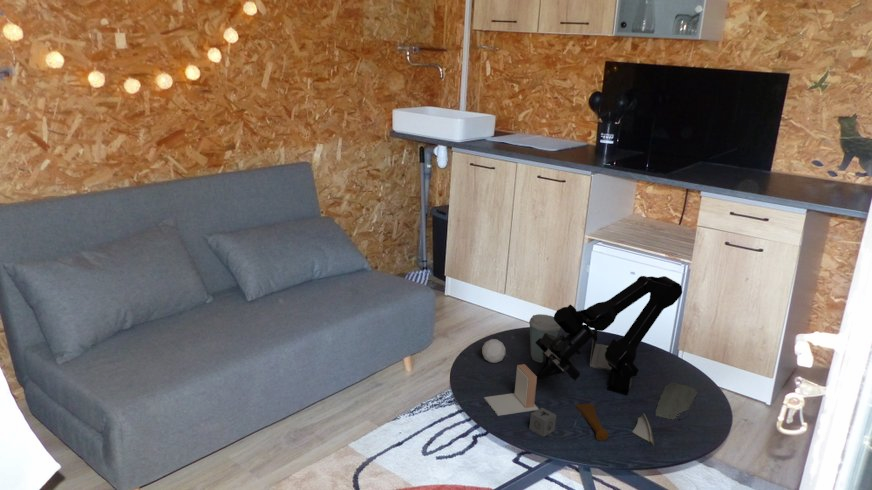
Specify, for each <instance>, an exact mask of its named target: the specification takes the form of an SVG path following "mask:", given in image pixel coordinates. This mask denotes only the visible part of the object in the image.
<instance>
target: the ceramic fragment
mask: <svg viewBox="0 0 872 490" xmlns="http://www.w3.org/2000/svg"><path fill="white" fill-rule="evenodd" d="M631 434H633V435H635V436H636V437H638V438H640V439H642V440H643V441H645V442H648V443H649V444H651V445H652V446H653V447H654V446H655V439H654V436H653V430H652V427H651V423H650V422H649V419H648V418H647V416H646V414H645V413H642V414H641V415H640V417H637V423H636V425H635V427H634V429H633V430H632V431H631Z"/></svg>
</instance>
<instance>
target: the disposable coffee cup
mask: <svg viewBox="0 0 872 490" xmlns="http://www.w3.org/2000/svg"><path fill="white" fill-rule="evenodd" d="M528 321H529V322H528V323H529V336H530V337H529V343H530V347H529V348H530V356H531V359H532V361H535V362H537V363H540V364H542V363H543V354H542V353H543V352H544V351H543V350H542V349H541V348H540V347H539V346H538V345H537V344H536V343H535V342H536V341H537V340H538V339H539V338H542V337H543V335H544V333H547V334H550V335H552V336H555V337H557V338H558V336H559V332H560V330H561V329H562V328H561V327H560V326H559V325H558V324H557V323H556V322H555V320H554V316H552V315H548V314H542V313H541V314H539V313H538V314H533V315H532V317H531V318H530V319H529V320H528ZM544 353H545V352H544Z"/></svg>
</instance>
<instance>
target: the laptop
mask: <svg viewBox="0 0 872 490" xmlns="http://www.w3.org/2000/svg"><path fill="white" fill-rule="evenodd" d="M593 329H594V328H593ZM594 330H595V331H596V332H597V333H598V330H596V329H594ZM608 346H609V345H605V344H601V343H597V341H594V340H593V339H592V343H591V348H590V349H591V351H590V359H589V367H590V368H594V369H600V370H607V371H611V369H612V367H611V366H609V365H608V362H607V361H606V359H605V352H606V351H607V350H606V348H607V347H608Z"/></svg>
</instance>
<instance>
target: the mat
mask: <svg viewBox="0 0 872 490" xmlns="http://www.w3.org/2000/svg"><path fill="white" fill-rule="evenodd" d="M514 394H515V392H513V393H506V394H498V395H489V396H484V397H483V398H484V399H483V400H484V401H485V402H486V403H487V404H488V405H489V407H490V406H491V409H492V410H493V412H494V411H495V412H494V413H495V414H496V416H498V417H499V416H506V415H512V414H518V413H526V412H532V411H533V412H534V411H537V410H538V409H539V407H538V406H537V405H536V404H535V403H534V407H532V408H525V406H524V405H523V404H522V403H521V402H520V401H519V400H518V398H517V397H516V396H515V395H514Z"/></svg>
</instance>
